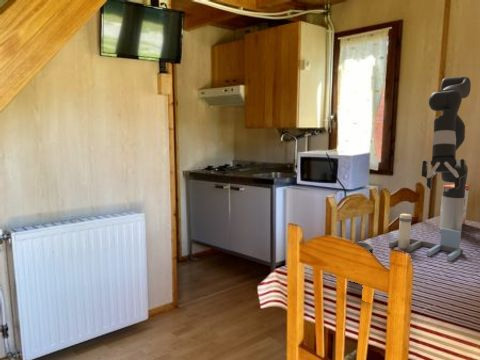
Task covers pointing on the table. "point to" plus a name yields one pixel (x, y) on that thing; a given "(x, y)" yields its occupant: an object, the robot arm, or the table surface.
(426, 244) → the cable comb
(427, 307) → the table surface
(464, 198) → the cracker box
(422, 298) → the table surface
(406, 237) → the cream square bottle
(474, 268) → the table surface
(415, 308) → the table surface
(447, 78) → the robot arm
